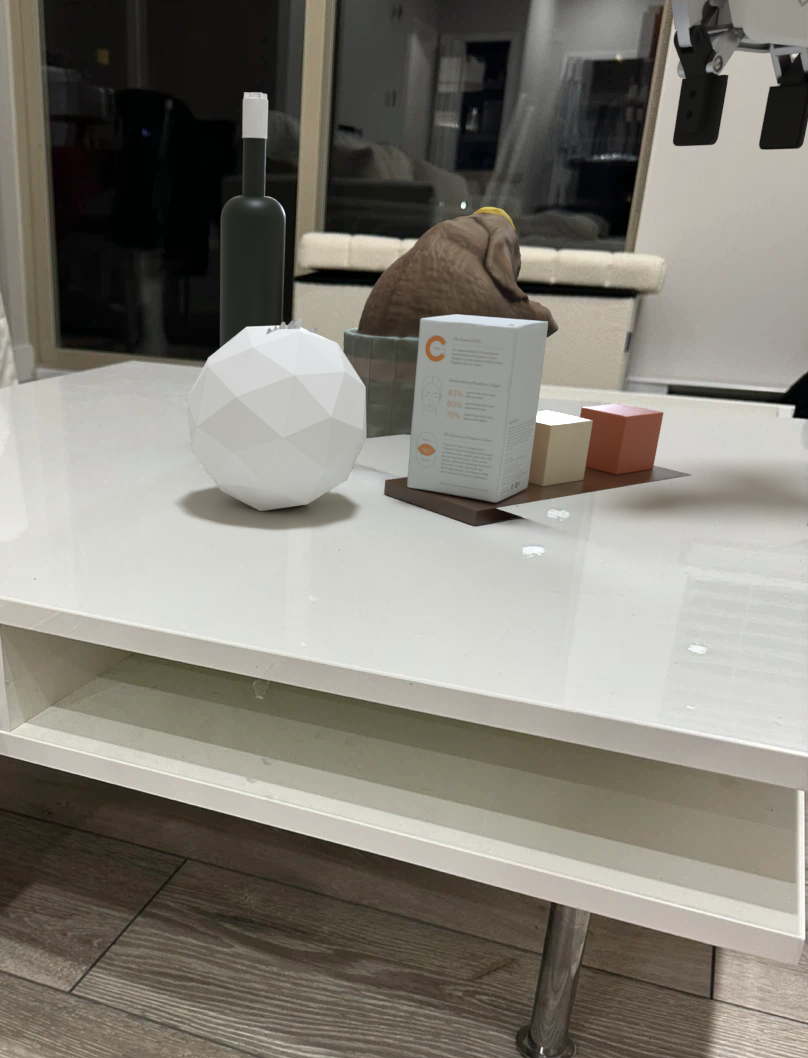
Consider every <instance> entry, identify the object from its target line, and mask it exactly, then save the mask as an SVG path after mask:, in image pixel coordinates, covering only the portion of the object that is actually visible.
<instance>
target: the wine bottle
mask: <svg viewBox="0 0 808 1058" xmlns="http://www.w3.org/2000/svg"><path fill="white" fill-rule="evenodd" d="M268 121H269V100H268V94H267V93H263V92H262V91H260V92H258V91H257V92H256V91H255V92H254V91H253V92H247V91H245V92H243V99H242V125H241V126H242V130H241V131H242V134H241V138H242V140H243V141H242V143H243V144H242V145H243V146H242V195H237V196H234V197H232V198H230V199H229V200H227V202H226V203H225V204H224V206H223V208H222V210H221V214H220V270H219V271H220V272H219V273H220V276H219V277H220V278H219V279H220V281H219V282H220V284H219V285H220V287H219V288H220V290H219V291H220V294H219V295H220V296H219V297H220V298H219V301H220V302H219V349H220V348H221V347H222V346H223V345H225V344H226V343H227V342H228V341H230V340H231V339H232V338H233V337H235V336H236V335H237V334H238V333H239V332H241V331H242V330H243V329H244V328H246V327H255V326H280V325H281V323H282V322H284V321H283V319H284V289H285V288H284V287H285V286H284V285H285V253H286V223H287V222H286V220H287V218H286V217H287V216H286V213H285V209H284V207H283V206H282V205H281V203H280V202H279V201H278V200H277V199H275V198H273V197H271V196H266V166H267V165H266V164H267V163H266V162H267V161H266V160H267V159H266V158H267V139H268V125H269V123H268Z"/></svg>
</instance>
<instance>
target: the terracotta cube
mask: <svg viewBox="0 0 808 1058" xmlns="http://www.w3.org/2000/svg"><path fill="white" fill-rule="evenodd" d="M663 417H664V412H663V411H660V410H659V411H658V410H654V409H648V408H644V407H638V406H634V405H629V404H625V403H610V404H600V405H591V406H590V405H589V406H582V407H581V408H580V415H579V418H584V419H589V420H592V421H593V423H592V429H591V436H590V442H589V448H588V454H587V460H586V467H588V468H592V469H596V470H599V471H603V472H607V473H611V474H615V475H619V474H625V473H631V472H637V471H644V470H650V469H653V466H655V460H656V456H657V449H658V444H659V439H660V435H661V434H660V433H661V429H662V423H663V419H664V418H663Z"/></svg>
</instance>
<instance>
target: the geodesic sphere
mask: <svg viewBox="0 0 808 1058" xmlns="http://www.w3.org/2000/svg"><path fill="white" fill-rule="evenodd" d="M302 325H303V318H302V317H300V318H298V319H297V320H296V321H295V320H294V319H292V320H291V321H289V323H288V324H286V322H285V321H283V322H282V323H281V325H280V326H255V327H246V328H244V329H243V330H242V331H241V332H239V333H238V334H237V335H236V336H235V337H233V338H232V339H231V340H230V341H228V342H227V343H226V344H225V345H223V346H222V347H221V348H220V347H219V348H218V349H217V350H216V351H215V352H213V353H212V354H211V355H209V356H208V357H207V360H206V361H205V363H204V365H203V367H202V368H201V371H200V372H199V375H198V377H197V379H196V380H195V382H194V385H193V387H192V388H191V390H190V392H189V394H188V395H187V397H186V405H187V415H188V417H187V418H188V426H189V427H188V428H189V438H190V448H191V449H190V450H191V452H192V453H193V455H194V456H195V458H196V459H197V460H198V462H199V463H200V464H201V465H202V467H203V468H204V469H205V471H206V472H207V474H208V475H209V476H210V478H211V479H212V481H213V482H214V483H215V485H216V486H217V487H218V489H219V490H220V491H221V492H222V493H225V495H229V496H230V497H232V498H234V499H236V500H238V501H240V502H242V503H244V504H245V505H248V506H249V507H251V508H253V509H254V510H255V509H256V510H257V511H259V512H265V511H271V510H278V509H285V508H293V507H300V506H307V505H308V504H310V503H312V502H313V501H315V500H316V499H319V498H320V497H322V496H323V495H325V494H327V493H328V492H330V491H331V490H333V489H336V487H338V486H340V485H341V484H343V483H345V482H346V481H347V480H348V479H349V477H350V475H351V473H352V470H353V468H354V466H355V464H356V461H357V460H358V457H359V456H360V453H361V451H362V449H363V447H364V445H365V442H366V440H367V438H366V387H365V385H364V384H363V382H362V381H361V379H360V377H359V376H358V374H357V373H356V371H355V370H354V368H353V366H352V365H351V363H350V362H349V360H348V359H347V357H346V356H345V354H344V352H343V351H344V350H342V347H341V346H340V345H339V343H338V342H336V341H334V340H332V339H330V338H326V337H324V336H323V332H322V333H321V335H320V334H317V333H318V329H319V325H318V324H317V325H316V323H315V325H314V328H313V327H311V328H310V329H309V330H308V329H307V328H304V327H302Z"/></svg>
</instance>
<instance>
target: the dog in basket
mask: <svg viewBox="0 0 808 1058" xmlns="http://www.w3.org/2000/svg"><path fill="white" fill-rule="evenodd" d="M516 231H517V230H516V227H515V225H514V222H513V219H512V218H511V217H510V215H509V214H508V213H506V211H505V210H504V209H502V208H500V207H495V206H483V207H482V208H479V209H477V210H476V211H474V212H473V213H472V214H470V215H465V216H458V217H456V218H453V219H446V220H444V221H441V222H438V223H436V224H435V225H434V226H432V227H430V228H429V229H428V230H426V231H425V233H423V234H422V235H421V236H420V237H419V238H418V240H417V241H415V243H414V244H413V246H411V248H409V250H407V251H406V252H405V253H404V254H402V255H400V256H399V257H398V258H396V259H395V261H394V262H393V263H391V264H390V265H389V266H388V267H387V268H386V269H385V270H384V271H382V274H381V275H380V276H379V278H378V279H377V281H376V282H375V284H373V287H372V289H371V291H370V292H369V294H368V296H367V299H366V301H365V303H364V306H363V310H362V311H361V315H360V319H359V321H358V327H352V328H348V329H346V330H344V332H343V344H342V345H343V350H342V351H343V352H344V354H345V356H346V357H347V359H348V360H349V362H350V363H351V365H352V366H353V368H354V370H355V371H356V373H357V374H358V376H359V377H360V379H361V381H362V382H363V384H364V385H365V387H366V439H375V438H383V437H384V438H385V437H392V436H402V435H407V436H411V428H412V416H413V405H414V392H415V380H416V368H417V356H418V344H419V330H420V319H422V318H428V317H436V316H445V315H454V314H460V315H471V316H483V317H496V318H509V319H521V320H534V321H547V322H548V329H547V337H546V339H547V338H550V337H551V336H552V335H554V334H555V333H556V332H558V330H559V325H558V323H557V321H556V319H554V317H553V315H552V312H551V310H550V309H549V308H547V307H546V306H545V305H542V303H541V302H539V301H535V300H531V299H530V298H529V296H528V294H527V293H525V292H524V291H523V290H522V289H521V288H520V287H519V286H518V284H517V280H518V278H519V276H520V273H521V272H520V271H521V269H522V260H521V259H522V255H521V249H520V248H521V247H520V239H519V237H518V235H517V234H516Z"/></svg>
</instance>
